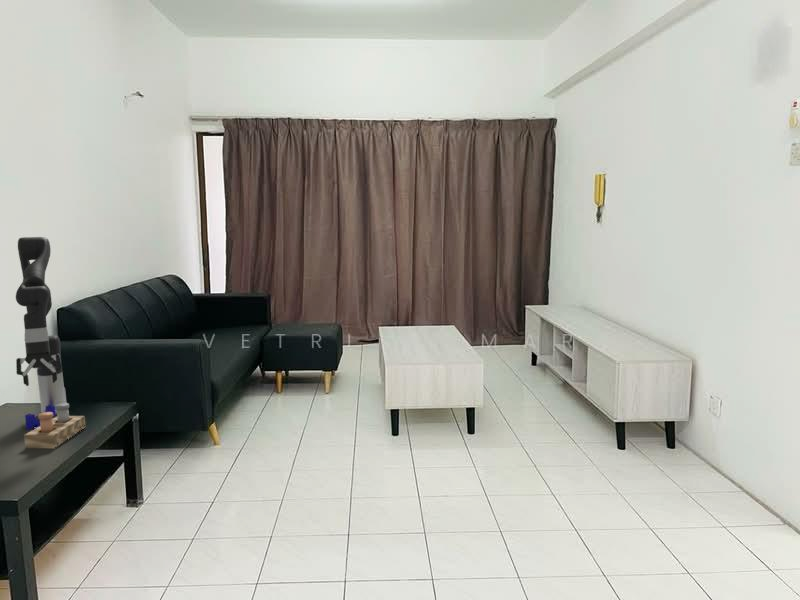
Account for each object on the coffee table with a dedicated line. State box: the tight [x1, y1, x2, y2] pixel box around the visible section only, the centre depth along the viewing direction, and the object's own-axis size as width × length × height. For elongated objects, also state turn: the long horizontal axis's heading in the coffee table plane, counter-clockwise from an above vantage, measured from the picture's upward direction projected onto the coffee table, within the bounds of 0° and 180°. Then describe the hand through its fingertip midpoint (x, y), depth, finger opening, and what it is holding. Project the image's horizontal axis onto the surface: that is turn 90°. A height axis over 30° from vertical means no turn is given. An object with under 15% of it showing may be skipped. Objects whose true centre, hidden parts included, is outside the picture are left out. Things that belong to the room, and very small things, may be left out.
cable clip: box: [24, 405, 57, 430], centre depth 242 cm, size 12×4×6 cm, turn 169°
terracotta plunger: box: [37, 412, 54, 433], centre depth 221 cm, size 5×5×8 cm
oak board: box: [23, 415, 87, 449], centre depth 227 cm, size 20×11×5 cm, turn 177°
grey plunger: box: [55, 402, 70, 423], centre depth 231 cm, size 5×5×8 cm
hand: (40, 383), depth 221 cm, fingers open, 8 cm apart
